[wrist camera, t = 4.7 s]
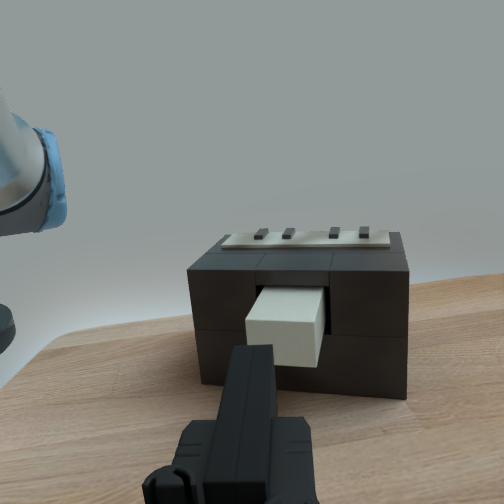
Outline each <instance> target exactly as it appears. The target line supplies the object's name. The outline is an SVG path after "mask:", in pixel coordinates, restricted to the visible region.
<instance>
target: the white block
mask: <svg viewBox="0 0 504 504" xmlns="http://www.w3.org/2000/svg"><path fill="white" fill-rule="evenodd" d="M325 323H326V294H325V286H283V285H265V286H264V288H263V290H262V292H261V293H260V295H259V297H258V298H257V300H256V302H255V304H254V305H253V307H252V309H251V310H250V312H249V314H248V316H247V317H246V319H245V324H246V335H247V345H264V344H273V354H274V365H282V366H299V367H317V362H318V358H319V353H320V348H321V343H322V338H323V333H324V328H325Z"/></svg>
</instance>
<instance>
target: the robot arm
mask: <svg viewBox="0 0 504 504" xmlns="http://www.w3.org/2000/svg"><path fill="white" fill-rule="evenodd" d="M66 214H67V205H66V196H65V184H64V176H63V170H62V164H61V158H60V153H59V148H58V144H57V141H56V139H55V136H54V134H53V133H52V132H51V131H49V130H47V129H39V128H32V127H30V125H28V124H27V123H26V122H25V121H24V120H22V119H21V118H20V117H18V116H17V115H15V114H13V113H11V112H10V110H9V107H8V105H7V102H6V100H5V98H4V96H3V93H2V91H1V89H0V236H7V235H14V234H21V233H28V232H34V233H35V232H42V231H43V230H46V229H50V228H55V227H58V226H60V225H62V224H63V223H64V221H65V219H66ZM277 408H278V405H277V393H276V380H275V367H274V354H273V344H264V345H238V346H233V349H232V353H231V358H230V362H229V367H228V371H227V375H226V380H225V384H224V389H223V393H222V398H221V402H220V406H219V411H218V415H217V420H192V421H191V422H190V424H189V425H188V426H187V427H186V428H185V429H184V430H183V431H182V434H181V437H180V440H179V444H178V447H177V450H176V453H175V457H174V459H173V462H172V465H168V466H164V467H161V468H159V469H157V470H155V471H154V472H152V473H151V474H150V475H149V476H148V477H147V478H146V479H145V481H144V483H143V484H142V489H143V495H144V500H145V504H320V503H319V502H318V500H317V497H316V492H315V479H314V467H313V454H312V442H311V429H310V426H309V425H308V423H307V422H306V421H305V419H304V418H303V417H277Z"/></svg>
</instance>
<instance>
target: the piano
mask: <svg viewBox="0 0 504 504" xmlns="http://www.w3.org/2000/svg"><path fill="white" fill-rule="evenodd" d="M187 276H188V284H189V291H190V299H191V306H192V314H193V322H194V329H195V337H196V345H197V352H198V360H199V367H200V375H201V382H202V384H211V385H224V384H225V380H226V375H227V371H228V367H229V362H230V358H231V353H232V349H233V346H238V345H247V335H246V324H245V319H246V317H247V316H248V314H249V312H250V310H251V309H252V307H253V305H254V304H255V302H256V300H257V298H258V297H259V295H260V293H261V292H262V290H263V288H264V286H265V285H283V286H325V294H326V323H325V328H324V333H323V338H322V343H321V348H320V353H319V358H318V362H317V367H299V366H282V365H274V367H275V380H276V389H277V390H290V391H303V392H316V393H330V394H343V395H356V396H369V397H382V398H395V399H407V358H408V313H409V268H408V264H407V260H406V255H405V251H404V248H403V243H402V239H401V235H400V232H388V231H387V230H380V231H369V227H360V230H359V231H340V227H331V229H330V231H320V232H295V228H287V229H286V230H285V231H284V232H268V229H267V228H266V229H259V230H258V232H257V233H233V234H232V235H225V236H224V237H223V238H222V239H221V240H219V241H218V242H217V243H216V244H215V245H214V246H213V247H212V248H211V249H209V250H208V251H207V252H206V253H205V254H204V255H203V256H202V257H200V258H199V259H198V260H197V261H196V262H195V263H194V264H193V265H191V266H190V267H189V268H188V269H187Z"/></svg>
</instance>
